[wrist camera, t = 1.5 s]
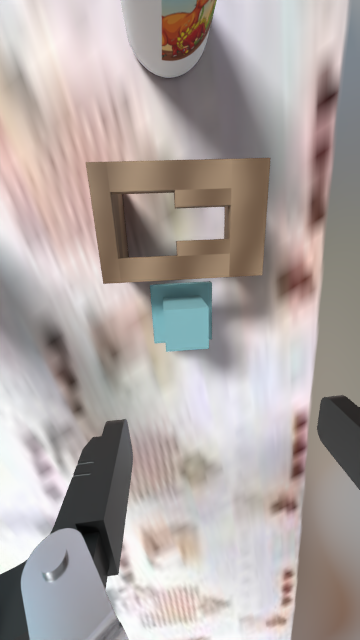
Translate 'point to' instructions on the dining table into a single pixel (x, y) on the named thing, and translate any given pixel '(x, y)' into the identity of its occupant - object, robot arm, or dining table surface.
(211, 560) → the dining table surface
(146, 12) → the milk bottle
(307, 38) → the dining table surface
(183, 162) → the brown keyhole frame
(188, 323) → the teal peg
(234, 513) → the dining table surface
